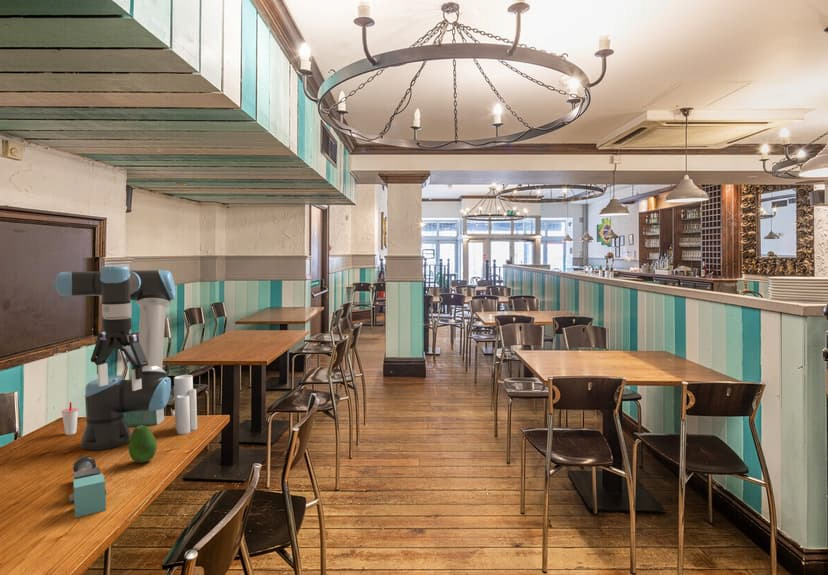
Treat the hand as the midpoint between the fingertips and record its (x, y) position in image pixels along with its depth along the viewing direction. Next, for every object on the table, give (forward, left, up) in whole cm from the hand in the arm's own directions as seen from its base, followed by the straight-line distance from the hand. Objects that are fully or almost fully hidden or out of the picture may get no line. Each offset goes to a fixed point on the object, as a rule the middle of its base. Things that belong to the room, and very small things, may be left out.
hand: (120, 387), depth 153 cm
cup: (-54, -12, -27) cm, 62 cm away
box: (-52, +13, -27) cm, 60 cm away
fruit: (-6, +6, -27) cm, 28 cm away
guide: (+11, -10, -26) cm, 30 cm away
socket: (+21, -10, -26) cm, 35 cm away
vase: (-33, +25, -27) cm, 49 cm away
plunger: (+5, -10, -25) cm, 28 cm away
